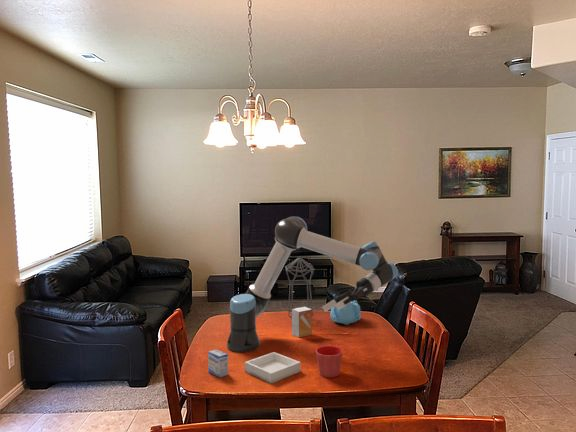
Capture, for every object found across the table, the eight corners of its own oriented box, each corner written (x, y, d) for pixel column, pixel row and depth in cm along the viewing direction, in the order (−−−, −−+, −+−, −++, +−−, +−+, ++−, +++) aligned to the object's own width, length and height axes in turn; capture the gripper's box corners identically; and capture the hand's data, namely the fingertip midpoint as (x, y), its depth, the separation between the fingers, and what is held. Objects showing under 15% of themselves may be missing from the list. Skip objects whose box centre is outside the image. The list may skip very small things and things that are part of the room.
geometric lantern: (286, 326, 257) (285, 260, 254) (286, 318, 272) (284, 256, 270) (316, 325, 257) (315, 259, 255) (314, 317, 273) (313, 255, 270)
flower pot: (313, 378, 192) (313, 354, 191) (318, 367, 203) (318, 344, 202) (340, 380, 190) (340, 356, 189) (343, 369, 200) (344, 346, 200)
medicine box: (207, 372, 199) (207, 351, 198) (216, 369, 202) (216, 348, 201) (219, 377, 193) (219, 356, 192) (228, 374, 196) (228, 353, 195)
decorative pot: (361, 326, 255) (361, 301, 254) (330, 326, 257) (330, 300, 256) (359, 317, 272) (360, 293, 270) (330, 316, 273) (330, 292, 272)
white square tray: (271, 383, 187) (271, 373, 187) (244, 371, 199) (244, 362, 199) (300, 371, 198) (300, 362, 198) (273, 360, 210) (273, 351, 210)
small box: (298, 337, 239) (298, 311, 238) (291, 334, 244) (291, 308, 243) (312, 334, 243) (312, 309, 242) (304, 331, 249) (304, 306, 248)
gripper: (386, 289, 204) (347, 314, 195) (359, 295, 226) (322, 317, 218) (378, 273, 204) (338, 297, 196) (351, 280, 227) (314, 302, 218)
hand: (330, 308), depth 207 cm, fingers open, 13 cm apart
